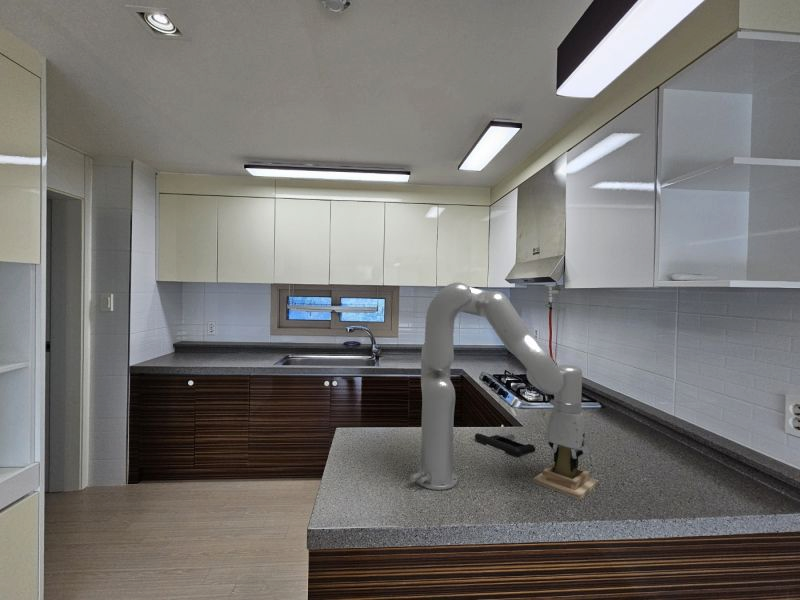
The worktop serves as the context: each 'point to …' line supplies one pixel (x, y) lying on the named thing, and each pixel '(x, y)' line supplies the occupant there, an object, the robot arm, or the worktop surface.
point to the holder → (567, 482)
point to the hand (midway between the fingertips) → (565, 467)
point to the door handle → (505, 444)
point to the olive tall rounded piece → (564, 462)
